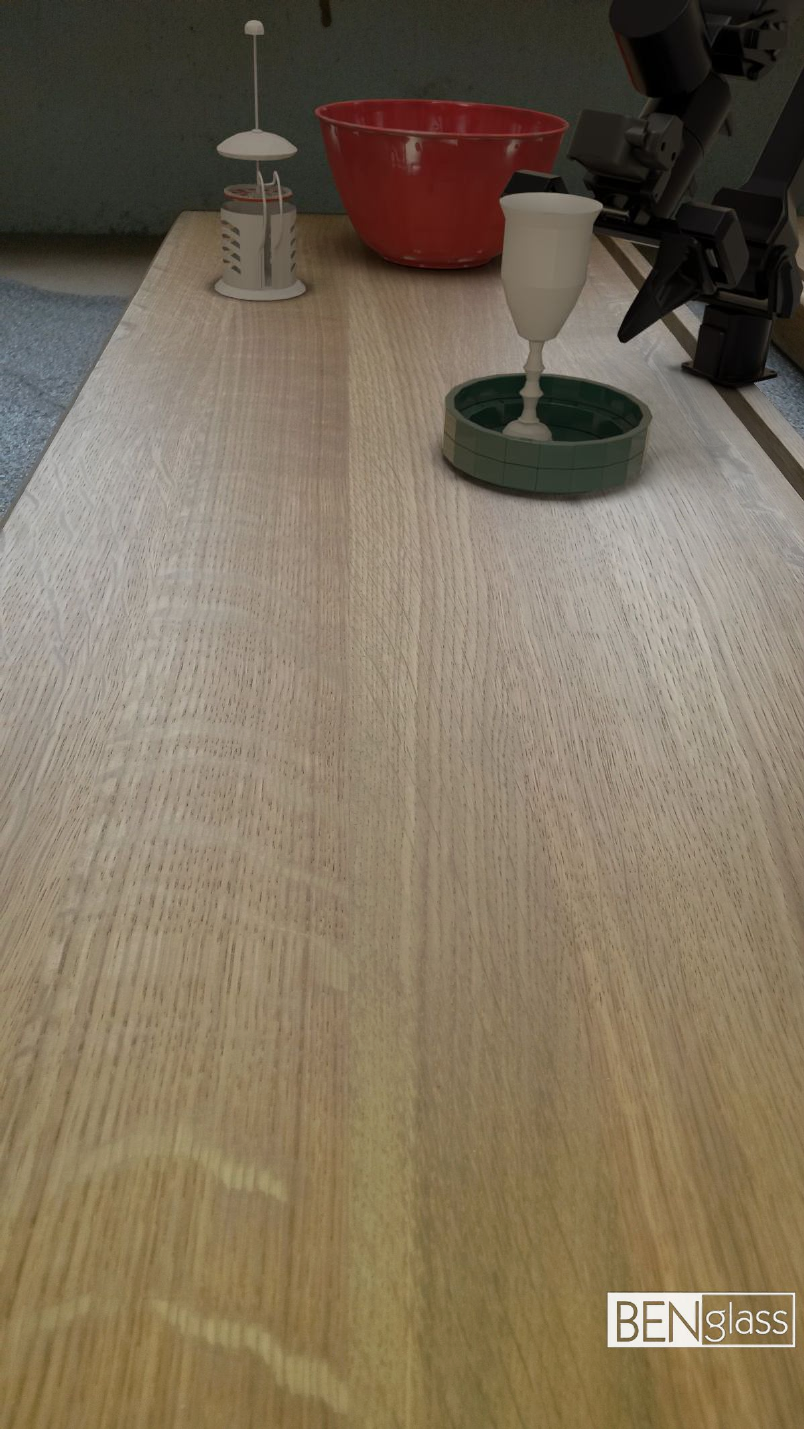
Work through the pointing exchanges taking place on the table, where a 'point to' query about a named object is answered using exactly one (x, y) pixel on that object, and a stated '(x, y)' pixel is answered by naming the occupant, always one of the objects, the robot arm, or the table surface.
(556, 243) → the chalice
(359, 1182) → the table surface
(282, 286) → the french press
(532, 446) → the dish
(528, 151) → the mixing bowl
